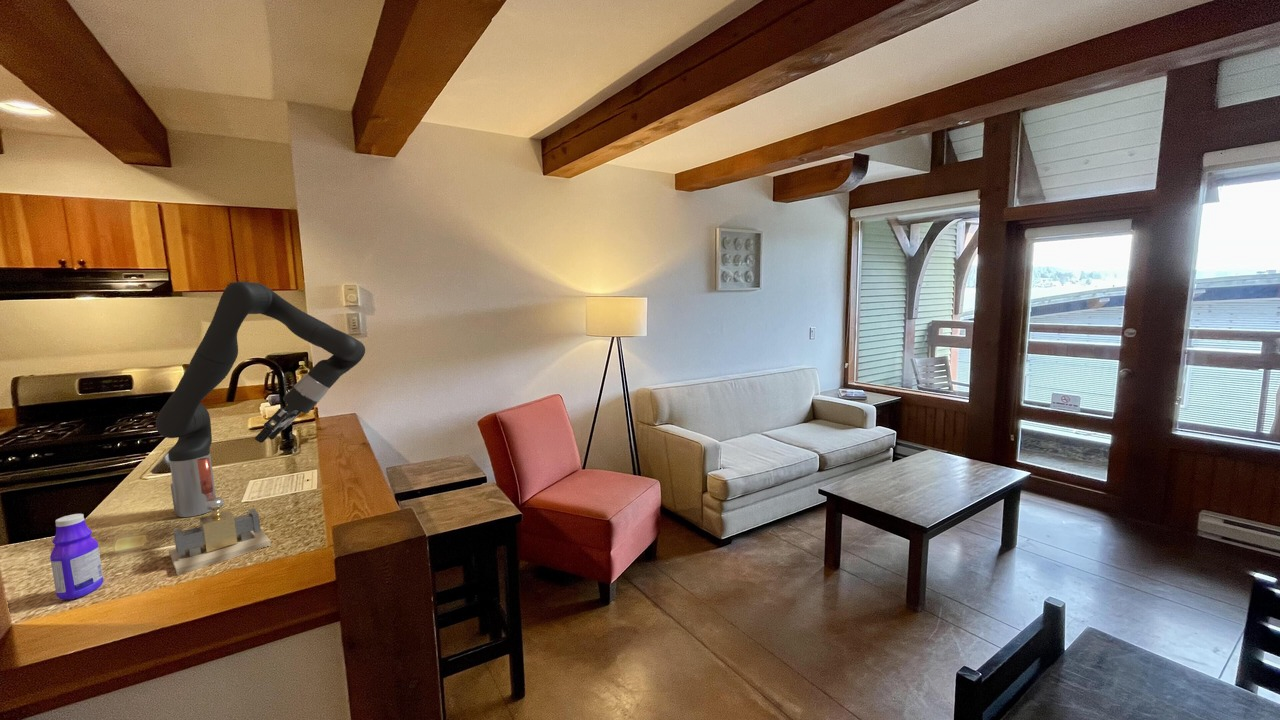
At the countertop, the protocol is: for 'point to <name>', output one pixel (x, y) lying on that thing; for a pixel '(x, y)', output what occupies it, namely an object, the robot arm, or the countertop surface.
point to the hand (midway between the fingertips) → (263, 439)
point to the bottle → (75, 558)
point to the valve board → (217, 553)
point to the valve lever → (208, 484)
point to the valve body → (216, 532)
